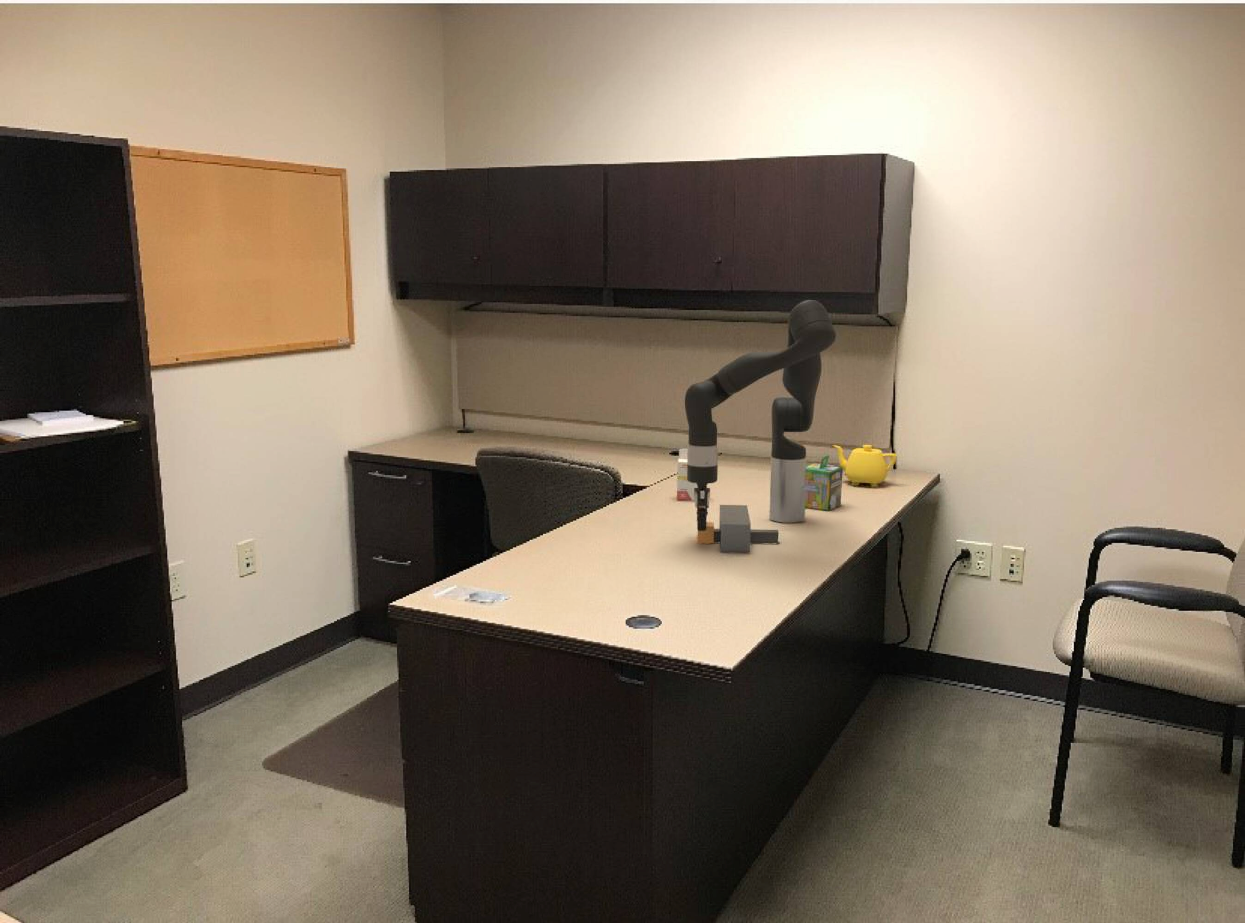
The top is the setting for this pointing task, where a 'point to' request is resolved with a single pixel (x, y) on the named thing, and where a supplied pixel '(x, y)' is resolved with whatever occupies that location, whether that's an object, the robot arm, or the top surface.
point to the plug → (755, 535)
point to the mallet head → (734, 528)
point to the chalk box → (823, 485)
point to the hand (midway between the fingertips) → (701, 526)
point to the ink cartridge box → (684, 478)
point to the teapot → (866, 465)
